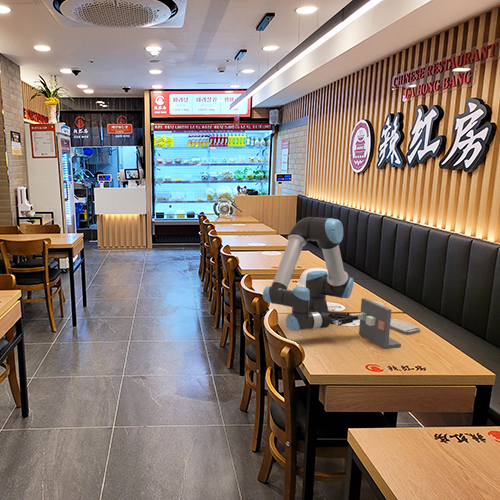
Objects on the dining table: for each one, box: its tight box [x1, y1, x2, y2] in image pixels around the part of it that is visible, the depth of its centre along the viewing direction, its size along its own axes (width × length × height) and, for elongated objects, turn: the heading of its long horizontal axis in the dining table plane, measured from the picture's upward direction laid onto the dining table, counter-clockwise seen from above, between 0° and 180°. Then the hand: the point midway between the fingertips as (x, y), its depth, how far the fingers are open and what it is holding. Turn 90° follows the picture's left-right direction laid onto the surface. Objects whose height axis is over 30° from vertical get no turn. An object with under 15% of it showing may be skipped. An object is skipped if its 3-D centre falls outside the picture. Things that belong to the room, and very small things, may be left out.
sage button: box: [360, 311, 367, 321], centre depth 212 cm, size 4×4×4 cm
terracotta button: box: [378, 320, 385, 331], centre depth 199 cm, size 4×4×4 cm
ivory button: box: [366, 316, 376, 326], centre depth 205 cm, size 4×4×4 cm
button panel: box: [358, 298, 402, 350], centre depth 207 cm, size 20×9×18 cm, turn 20°
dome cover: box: [296, 267, 328, 287], centre depth 306 cm, size 32×30×14 cm
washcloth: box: [390, 318, 421, 336], centre depth 227 cm, size 12×18×3 cm, turn 33°
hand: (362, 316), depth 211 cm, fingers closed
